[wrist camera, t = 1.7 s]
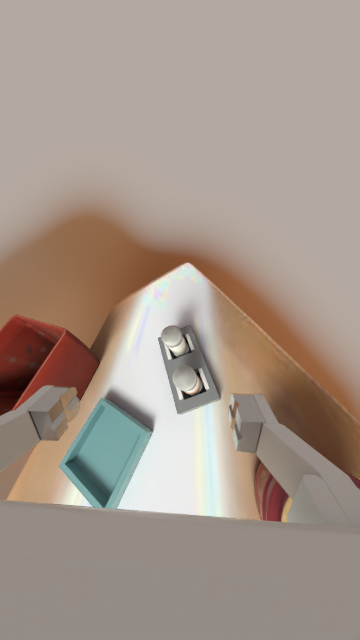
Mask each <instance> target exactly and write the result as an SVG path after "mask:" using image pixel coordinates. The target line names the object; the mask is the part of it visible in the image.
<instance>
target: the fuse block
mask: <svg viewBox="0 0 360 640" xmlns="http://www.w3.org/2000/svg"><path fill="white" fill-rule="evenodd" d="M179 330H180V332H181V333H182V336H183V338H184V340H188V343H189V346H190V348H191V351H192V352H191V353H189V354H186V355H184V356H181V357H178V358H176V359H174V356H173V353H172V351H171V350H170V348H169V347H168V346H166V344H165V343H164V342H163V341H162V339H161V337H159V338H158V340H159V344H160V348H161V352H162V356H163V360H164V363H165V367H166V371H167V375H168V379H169V383H170V387H171V390H172V394H173V398H174V402H175V406H176V410H177V413H178V414H184V413H186V412H189V411H191V410H194V409H197V408H199V407H202V406H205V405H207V404H210V403H213V402H215V401H218V400H220V397H219V395H218V392H217V390H216V387H215V385H214V382H213V380H212V377H211V375H210V372H209V370H208V367H207V365H206V363H205V360H204V358H203V355H202V353H201V350H200V348H199V345H198V343H197V340H196V338H195V335H194V333H193V330H192V328H191V326H190V325H189V326H186V327H184V328H181V329H179ZM183 365H186V366H189V367H191V368H192V369H193V370H194V372H195V373H197V372H199V373H200V375H201V378H202V381H203V383H204V386H205V389H206V392H204V393H201V394H199V395H196V396H193V397H191V398H188V399H186V396H185V393H184V391H182V390H180V389H178V388H177V387H176V386H175V385H174V383H173V373H174V371H175V370H176V369H177V368H178V367H180V366H183Z"/></svg>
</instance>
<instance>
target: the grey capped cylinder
mask: <svg viewBox="0 0 360 640" xmlns="http://www.w3.org/2000/svg"><path fill="white" fill-rule="evenodd" d="M173 383H174V385H175V386H176V387H177V388H178V389H180V390H182V391H184V392H186V393H187V394H189V395H191V396H196V395H199V394H200V393H201V392H202V389H203V383H202V381H201V380H200V378H199V377H198V376H197V375H196V373H195V372H194V370H193V369H192V368H191V367H189V366H186V365H183V366H180V367H178V368H177V369H176V370H175V371H174V373H173Z"/></svg>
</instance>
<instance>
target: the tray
mask: <svg viewBox="0 0 360 640" xmlns="http://www.w3.org/2000/svg"><path fill="white" fill-rule="evenodd" d="M152 433H153V431H152V430H150V429H149V428H148V427H146V426H145V425H143V424H142V423H141V422H139V421H138V420H136V419H135V418H134V417H132V416H131V415H129V414H128V413H127V412H125V411H124V410H123V409H121V408H120V407H118V406H117V405H116V404H114V403H113V402H111V401H110V400H109V399H102V398H101V399H100V400H99V402H98V404H97V405H96V407H95V408H94V410H93V412H92V413H91V415H90V416H89V418H88V420H87V421H86V423H85V424H84V426H83V428H82V429H81V431H80V432H79V434H78V436H77V437H76V439H75V440H74V442H73V444H72V445H71V447H70V449H69V450H68V452H67V453H66V455H65V457H64V458H63V460H62V461H61V463H60V465H59V467H60V468H61V470H62V471H63V472H64V473H65V474H66V476H67V477H68V478H69V479H70V480H71V481H72V483H73V484H74V485H75V486H76V487H77V489H78V490H79V491H80V492H81V493H82V494H83V496H84V497H85V498H86V499H87V500H88V502H89V503H90V504H91V505H92V506H93V507H99V508H112V509H117V507H118V505H119V502H120V500H121V498H122V496H123V494H124V492H125V490H126V488H127V486H128V484H129V481H130V479H131V477H132V475H133V473H134V471H135V469H136V467H137V465H138V463H139V460H140V458H141V456H142V454H143V452H144V450H145V448H146V446H147V444H148V442H149V440H150V437H151V435H152Z"/></svg>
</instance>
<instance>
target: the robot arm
mask: <svg viewBox="0 0 360 640" xmlns="http://www.w3.org/2000/svg"><path fill="white" fill-rule="evenodd" d="M76 394H77V390H76V388H75V387H68V386H50V385H46V386H43V387H42V388H40V389H39V390H38V391H37V392H36V393H35V394H33V395H32V396H31V397H30V398H29V399H28V400H26V401H25V402H24V403H23V404H22V405H21V406H19V407H18V408H17V409H16V410H15V411H10V412H7V413H5V414H3V415H1V416H0V472H1V471H2V470H3V469H5V468H6V467H7V466H9V465H10V464H11V463H13V462H14V461H15V460H16V459H18V458H19V457H21V456H22V455H23V454H24V453H26V452H27V451H28V450H30V449H31V448H32V447H34V446H35V445H36V444H38V443H39V442H40V440H51V441H58V440H59V439H60V437H61V436H62V435H63V433H64V432H65V431H66V429H67V428H68V423H69V422H70V421H72V420H73V419H74V418H75V417H76V415H77V414H78V411H79V408H80V401H79V399H78V398H77V397H76ZM230 402H231V405H230V406H229V410H228V416H229V423H230V427H231V428H232V429H233V430H234V431H233V440H234V444H235V448H236V451H240V452H251V453H256V455H257V456H258V458H259V459H260V460H261V461H262V463H263V464H264V465H265V466H266V468H267V469H268V470H269V471H270V473H271V474H272V475H273V476H274V478H275V479H276V480H277V481H278V483H279V484H280V485H281V486H282V488H283V489H284V490H285V491H286V493H287V494H288V495H289V496H290V498H291V499H292V500H293V502H292V505H291V507H290V510H289V512H288V515H287V517H286V518H287V520H288V522H276V521H264V520H251V519H238V518H226V517H213V516H200V515H188V514H175V513H162V512H150V511H137V510H124V509H112V508H99V507H86V506H73V505H61V504H48V503H35V502H22V501H10V500H0V640H360V491H359V490H358V488H357V487H356V485H355V484H354V483H353V481H352V480H351V479H350V477H349V476H348V475H347V474H345V473H344V472H343V471H341V470H340V469H339V468H338V467H336V466H335V465H334V464H333V463H331V462H330V461H329V460H327V459H326V458H325V457H324V456H322V455H321V454H320V453H319V452H317V451H316V450H315V449H313V448H312V447H311V446H310V445H308V444H307V443H306V442H305V441H303V440H302V439H301V438H300V437H298V436H297V435H296V434H294V433H293V432H292V431H291V430H289V429H288V428H287V427H286V426H284V425H283V424H279V423H278V421H277V419H276V417H275V415H274V414H273V412H272V410H271V408H270V406H269V405H268V403H267V401H266V399H265V397H264V396H263V395H262V394H232V393H231V395H230Z"/></svg>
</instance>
